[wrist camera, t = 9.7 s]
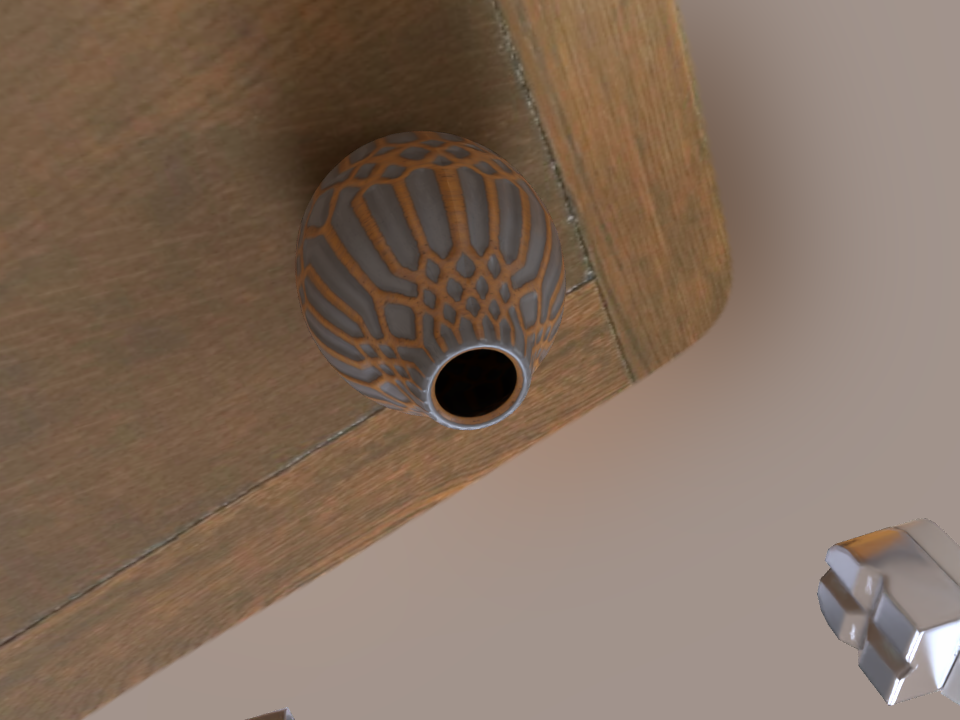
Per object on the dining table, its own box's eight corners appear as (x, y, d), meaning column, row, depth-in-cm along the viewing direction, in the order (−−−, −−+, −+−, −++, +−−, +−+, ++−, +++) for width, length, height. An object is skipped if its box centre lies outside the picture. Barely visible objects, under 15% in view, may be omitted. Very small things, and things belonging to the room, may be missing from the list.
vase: (303, 327, 24) (326, 530, 17) (273, 107, 20) (288, 254, 13) (511, 303, 25) (611, 481, 18) (522, 94, 21) (654, 220, 15)
